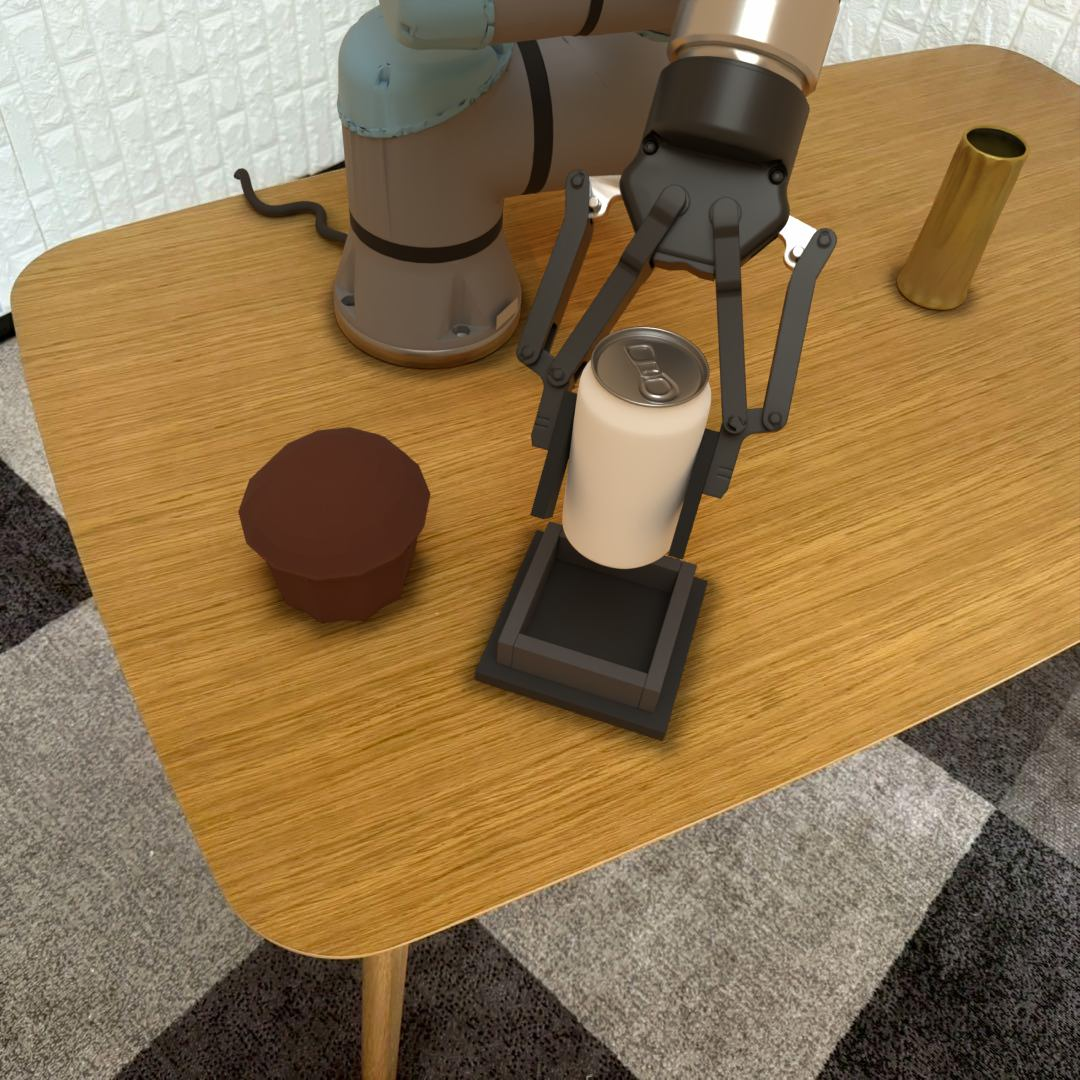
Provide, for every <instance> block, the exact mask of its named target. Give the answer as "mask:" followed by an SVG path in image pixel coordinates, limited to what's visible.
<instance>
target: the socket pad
mask: <svg viewBox="0 0 1080 1080" xmlns="http://www.w3.org/2000/svg"><path fill="white" fill-rule="evenodd" d="M697 569H698V565H697V564H696V563H692V562H689V561H686V560H681V559H678V558H675V557H671V556H668V555H667V554H665V555H664V556H663V557H661V558H660V559H658V560H656V561H655V562H652V563H650V564H647V565H644V566H641V567H637V568H630V569H617V568H611V567H607V566H604V565H601V564H598V563H596V562H594V561H592V560H590V559H588V558H586V557H585V556H583V555H582V554H581V553H579V552H578V551H577V550H576V549H575V548H574V547H573V546H572V545H571V543H570V542H569V540H568V539H567V537H566V535H565V532H564V529H563V524H561V523H557V522H555V521H551V520H549V521H548V522H547V524H546V527H545V530H544V531H543V530H539V529H536V531H535V532H534V535H533V537H532V539H531V542H530V544H529V546H528V548H527V551H526V553H525V556H524V558H523V560H522V562H521V565H520V567H519V569H518V572H517V574H516V576H515V579H514V581H513V583H512V585H511V588H510V589H509V592H508V595H507V597H506V599H505V602H504V604H503V606H502V609H501V611H500V613H499V615H498V617H497V620H496V623H495V625H494V627H493V630H492V631H491V634H490V636H489V639H488V641H487V643H486V646H485V647H484V650H483V653H482V654H481V657H480V659H479V662H478V664H477V667H476V669H475V671H474V681H478V682H480V683H483V684H485V685H490V686H492V687H496V688H499V689H502V690H504V691H508V692H511V693H515V694H517V695H520V696H524V697H526V698H529V699H533V700H536V701H539V702H543V703H546V704H548V705H551V706H555V707H557V708H561V709H564V710H567V711H570V712H573V713H576V714H580V715H583V716H585V717H589V718H592V719H594V720H598V721H600V722H604V723H607V724H610V725H613V726H616V727H619V728H622V729H626V730H628V731H632V732H635V733H638V734H641V735H644V736H647V737H651V738H653V739H656V740H659V741H664V740H665V736H666V734H667V730H668V726H669V723H670V719H671V716H672V713H673V708H674V705H675V702H676V698H677V695H678V691H679V687H680V684H681V679H682V676H683V673H684V670H685V665H686V662H687V658H688V656H689V652H690V647H691V644H692V641H693V637H694V635H695V630H696V627H697V626H696V625H697V623H698V618H699V616H700V612H701V608H702V605H703V601H704V597H705V594H706V590H707V587H708V583H709V582H708V580H707V579H704V578H700V577H696V576H695V575H696V571H697Z"/></svg>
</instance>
